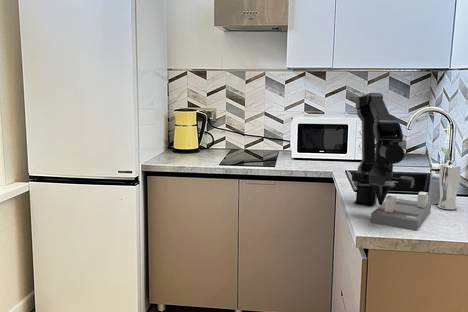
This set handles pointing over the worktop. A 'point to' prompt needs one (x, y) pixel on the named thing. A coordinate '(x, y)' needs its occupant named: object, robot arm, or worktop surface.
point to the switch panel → (402, 215)
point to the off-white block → (422, 199)
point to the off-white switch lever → (390, 203)
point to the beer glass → (448, 186)
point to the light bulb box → (434, 188)
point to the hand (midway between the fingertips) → (380, 204)
